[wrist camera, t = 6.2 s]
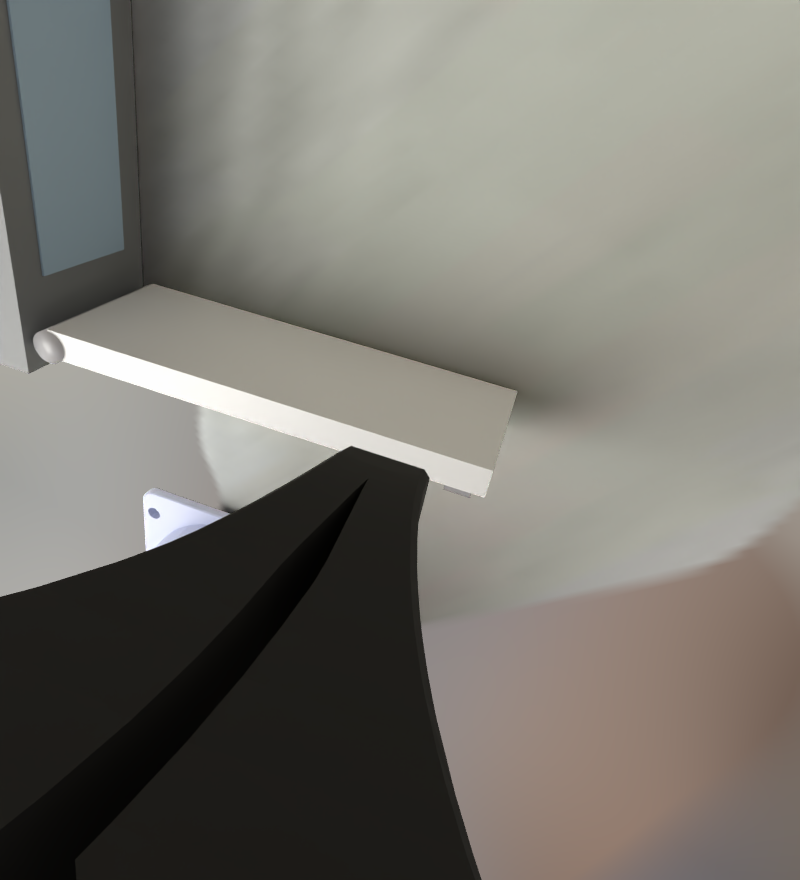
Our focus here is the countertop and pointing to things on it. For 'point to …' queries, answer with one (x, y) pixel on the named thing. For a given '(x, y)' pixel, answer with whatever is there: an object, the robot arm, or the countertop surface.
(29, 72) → the camera body
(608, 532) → the countertop surface
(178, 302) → the side door
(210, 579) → the robot arm
